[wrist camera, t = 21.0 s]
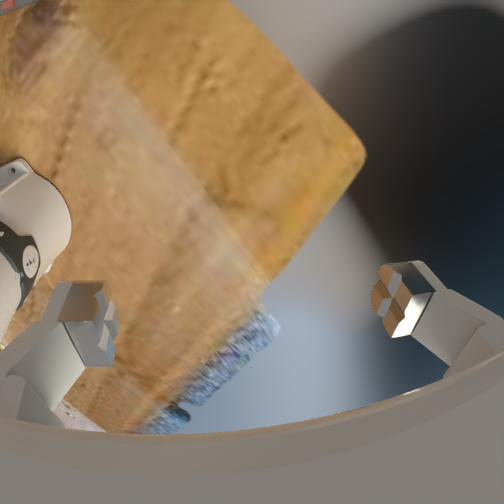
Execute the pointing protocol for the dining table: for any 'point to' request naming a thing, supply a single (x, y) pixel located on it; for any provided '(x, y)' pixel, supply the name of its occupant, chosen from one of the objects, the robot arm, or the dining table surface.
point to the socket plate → (13, 5)
